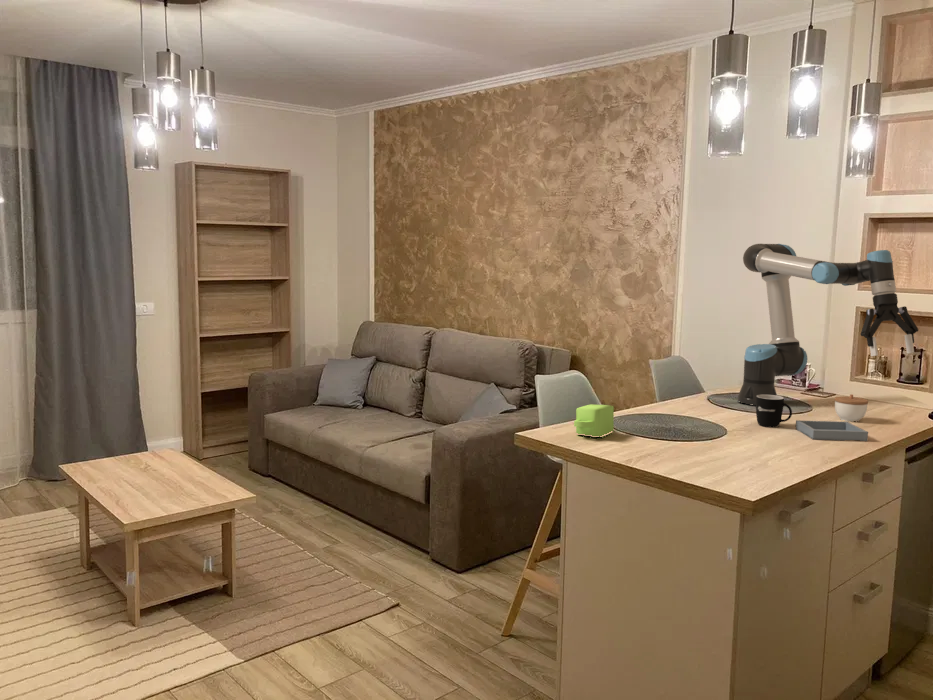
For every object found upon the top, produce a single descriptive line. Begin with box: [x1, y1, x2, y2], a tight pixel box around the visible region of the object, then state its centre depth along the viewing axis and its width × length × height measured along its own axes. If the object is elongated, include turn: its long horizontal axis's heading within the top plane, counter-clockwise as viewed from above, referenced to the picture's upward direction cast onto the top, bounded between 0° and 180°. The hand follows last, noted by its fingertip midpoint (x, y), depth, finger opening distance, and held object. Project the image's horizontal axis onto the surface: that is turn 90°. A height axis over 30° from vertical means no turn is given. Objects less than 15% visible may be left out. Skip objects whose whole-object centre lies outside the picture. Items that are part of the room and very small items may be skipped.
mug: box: [755, 395, 793, 428], centre depth 259 cm, size 12×9×10 cm
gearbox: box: [573, 403, 615, 437], centre depth 244 cm, size 18×10×10 cm, turn 145°
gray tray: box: [795, 419, 869, 442], centre depth 248 cm, size 15×17×3 cm
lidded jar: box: [834, 393, 869, 423], centre depth 271 cm, size 11×11×9 cm
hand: (892, 354), depth 260 cm, fingers open, 13 cm apart
